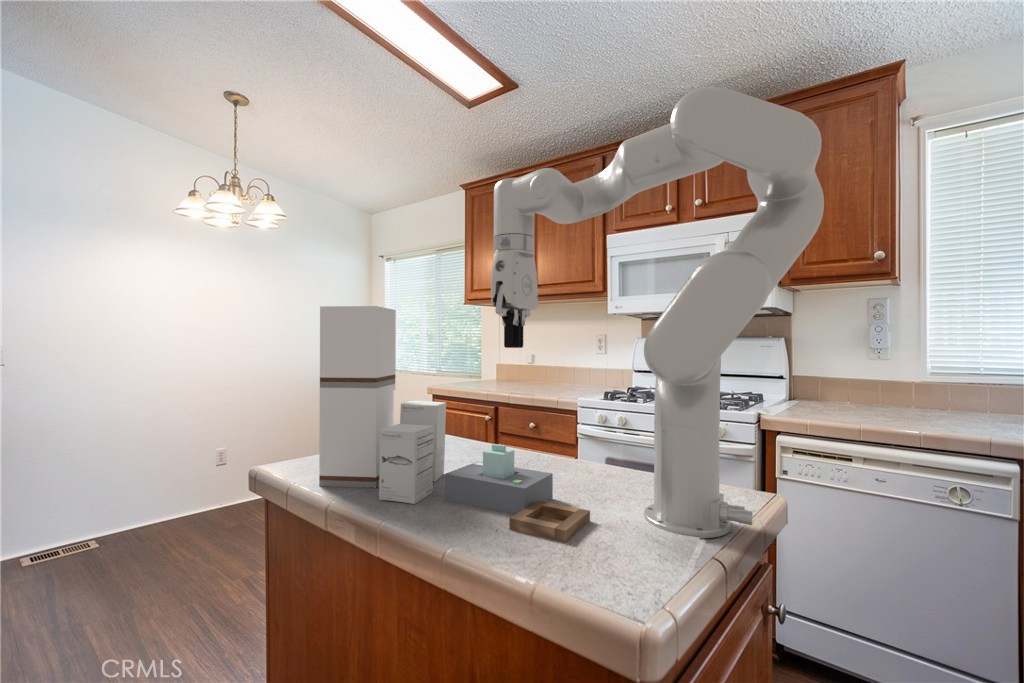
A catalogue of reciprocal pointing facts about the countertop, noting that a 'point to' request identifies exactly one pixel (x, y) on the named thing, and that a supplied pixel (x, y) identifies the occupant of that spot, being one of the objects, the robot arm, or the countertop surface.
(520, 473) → the panel
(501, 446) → the plug
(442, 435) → the skincare box
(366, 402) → the white striped tall box
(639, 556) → the countertop surface
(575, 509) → the square wooden tray
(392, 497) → the supplement box
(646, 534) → the countertop surface
